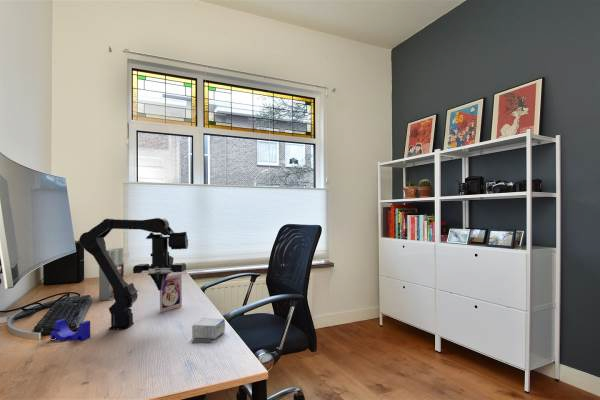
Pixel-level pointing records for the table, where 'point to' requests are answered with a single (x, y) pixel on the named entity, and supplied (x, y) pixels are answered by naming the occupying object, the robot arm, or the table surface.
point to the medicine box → (208, 328)
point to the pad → (201, 340)
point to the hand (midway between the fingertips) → (160, 290)
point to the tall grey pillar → (104, 284)
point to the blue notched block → (65, 333)
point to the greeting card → (171, 293)
